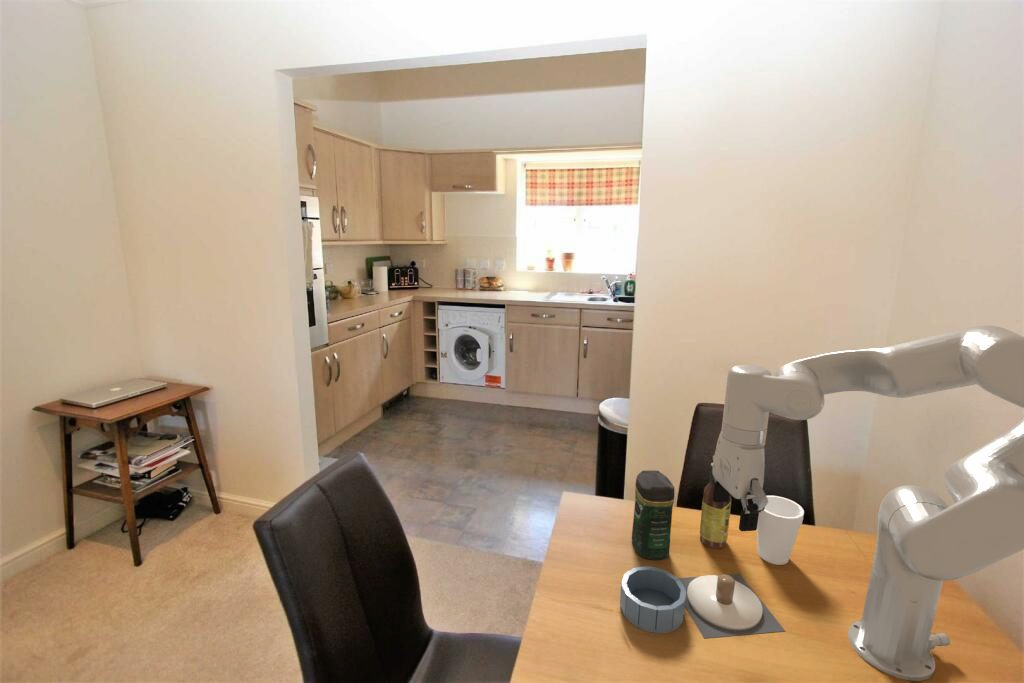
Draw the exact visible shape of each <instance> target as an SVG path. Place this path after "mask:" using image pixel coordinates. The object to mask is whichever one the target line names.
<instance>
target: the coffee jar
mask: <svg viewBox="0 0 1024 683" xmlns="http://www.w3.org/2000/svg"><path fill="white" fill-rule="evenodd" d="M634 489H635V491H634V492H635V493H634V494H635V495H634V496H635V497H634V498H635V499H634V510H633V511H634V512H633V521H632V531H631V542H632V545H633V548H634V550H635V551H636V553H637V554H638V556H640V557H641V558H644V559H647V560H651V561H652V560H653V561H656V560H657V561H660V560H663V559H666V558H668V557H669V554H670V551H671V550H670V548H671V532H672V520H673V519H672V518H673V517H672V516H673V508H674V502H675V486H674V485H673V483H672V481H671V480H670V478H668V476H666V475H665V474H664V473H662V472H660V471H659V470H649V469H647V470H642V471H640V472H639V473H638V474H637V476H636V480H635V488H634Z"/></svg>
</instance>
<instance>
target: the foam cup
mask: <svg viewBox="0 0 1024 683" xmlns="http://www.w3.org/2000/svg"><path fill="white" fill-rule="evenodd" d="M766 497H767V499H768V503H767V505H766V506H765V509H764V510H763V511H761V513H759V516H758V524H757V529H756V541H757V543H756V545H757V546H756V547H757V548H756V550H757V554H758V555H759V557H760V558H761V559H762V560H763V561H765V562H767V563H769V564H772V565H776V566H779V565H781V566H783V565H785V564H788V562H789V561H790V557H791V555H792V552H793V548H794V546H795V544H796V543H795V542H796V541H797V540H796V539H797V536H798V533H799V530H800V528H801V526H802V525H803V520H804V515H805V510H804V508H803V507H802V506H801V505H800V504H798V503H797V502H796V501H794V500H791V499H789V498H786V497H782V496H778V495H766Z"/></svg>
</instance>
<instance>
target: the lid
mask: <svg viewBox="0 0 1024 683" xmlns="http://www.w3.org/2000/svg"><path fill="white" fill-rule="evenodd" d="M716 575H717V574H716ZM716 575H715V574H714V575H713V574H711V575H710V574H707V575H701V576H700V575H699V576H697V577H698V578H695V579H694V580H692V581H691V582H690V584H689V586H688V589H687V600H688V602H689V604H690V606H691V608H692V609H693V610H694V611H695V613H697V614H698V615H699V616H700V617H701V618H703V619H704V620H706V621H707V622H709V623H711V624H713V625H715V626H718V627H721V628H724V629H729V630H748V629H751V628H753V627H755V626H756V625H758V624H759V622H760V621H761V618H762V611H763V609H762V605H761V602H760V600H761V599H760V600H759V599H758V597H759V596H758V595H757V594H756V595H757V596H758V597H757V596H756V595H755V594H754V593H753V592H752V591H751V590H750V589H749V588H747V587H746V586H744V585H743V584H741V583H739V582H737V581H735V580H734V579H733V578H732V577H731V576H729V575H727V574H725V573H723V574H718V575H719V576H716Z"/></svg>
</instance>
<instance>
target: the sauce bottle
mask: <svg viewBox="0 0 1024 683" xmlns="http://www.w3.org/2000/svg"><path fill="white" fill-rule="evenodd" d="M712 470H713V462H711V463H710V477H709V483H707V485H706V486H705V487H704V490H703V497H702V503H701V504H702V505H701V513H700V527H699V534H700V535H699V539H700V541H701V542H702V544H704V545H705V546H707V547H709V548H713V549H721V548H724V547H725V546H726V544H727V541H728V536H729V527H730V526H729V525H730V517H731V507H732V495H731V494H730V496H729V501H728V502H714V501H713V492H714V483H715V482H714V479H713V478H714V476H713V474H712Z"/></svg>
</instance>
